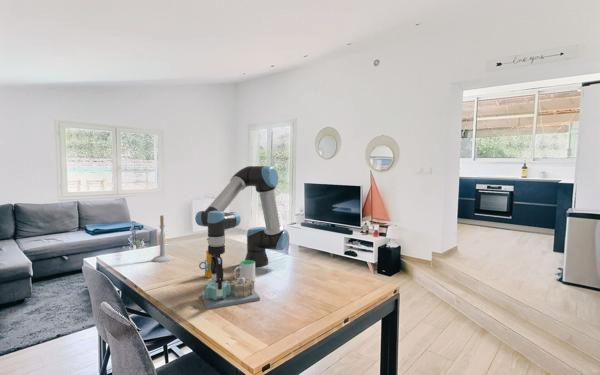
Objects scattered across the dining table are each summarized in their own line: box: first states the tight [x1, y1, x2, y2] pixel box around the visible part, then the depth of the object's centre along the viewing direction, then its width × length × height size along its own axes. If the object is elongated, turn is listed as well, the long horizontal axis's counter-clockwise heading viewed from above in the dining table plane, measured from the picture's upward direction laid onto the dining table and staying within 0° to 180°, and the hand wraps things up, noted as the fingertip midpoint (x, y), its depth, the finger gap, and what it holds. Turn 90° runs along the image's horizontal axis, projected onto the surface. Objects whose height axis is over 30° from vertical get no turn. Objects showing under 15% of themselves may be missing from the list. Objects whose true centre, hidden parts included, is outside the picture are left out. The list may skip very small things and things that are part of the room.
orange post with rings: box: [198, 249, 212, 279], centre depth 187 cm, size 12×10×15 cm
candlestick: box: [152, 214, 174, 263], centre depth 220 cm, size 13×13×30 cm
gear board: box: [200, 278, 261, 310], centre depth 156 cm, size 24×17×8 cm
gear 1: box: [204, 280, 231, 300], centre depth 154 cm, size 11×11×5 cm
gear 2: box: [230, 279, 255, 297], centre depth 159 cm, size 11×11×5 cm
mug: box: [233, 259, 256, 283], centre depth 178 cm, size 12×8×10 cm, turn 128°
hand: (217, 291), depth 154 cm, fingers closed on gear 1, 11 cm apart
